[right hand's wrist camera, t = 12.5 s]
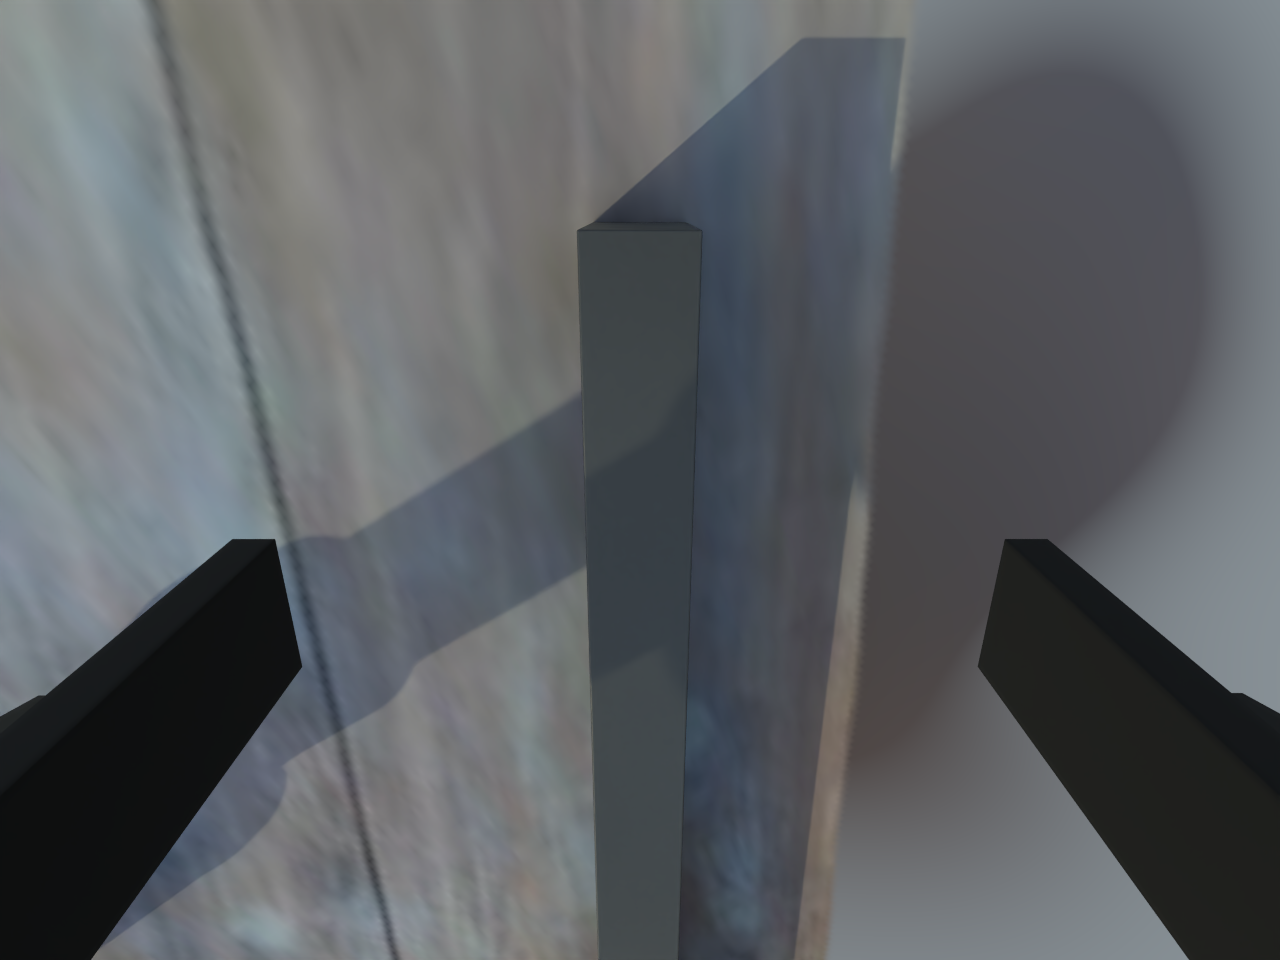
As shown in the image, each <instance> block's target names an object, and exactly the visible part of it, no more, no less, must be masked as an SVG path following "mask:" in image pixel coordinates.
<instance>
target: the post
mask: <svg viewBox="0 0 1280 960" xmlns="http://www.w3.org/2000/svg"><path fill="white" fill-rule="evenodd" d="M577 249H578V283H579V317H580V352H581V386H582V421H583V455H584V490H585V524H586V558H587V593H588V627H589V662H590V696H591V731H592V765H593V800H594V834H595V868H596V903H597V937H598V960H678V957H679V927H680V896H681V866H682V835H683V805H684V775H685V744H686V714H687V683H688V653H689V623H690V592H691V562H692V531H693V501H694V471H695V440H696V410H697V379H698V349H699V319H700V288H701V258H702V230H700V229H698V228H696V227H694V226H692V225H690V224H688V223H660V222H593V223H591V224H589V225H587V226H585V227H583V228H581V229H579V230H578V231H577Z"/></svg>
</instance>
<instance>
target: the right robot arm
mask: <svg viewBox="0 0 1280 960" xmlns="http://www.w3.org/2000/svg"><path fill="white" fill-rule="evenodd" d="M978 667H979V669H980V670H981V672H982V673H983V675H984V676H985V677H986V679H987V680H988V681H989V683H990V684H991V686H992V687H993V688H994V690H995V691H996V692H997V694H998V695H999V697H1000V698H1001V699H1002V701H1003V702H1004V704H1005V705H1006V706H1007V708H1008V709H1009V711H1010V712H1011V713H1012V715H1013V716H1014V718H1015V719H1016V720H1017V722H1018V723H1019V724H1020V726H1021V727H1022V729H1023V730H1024V731H1025V733H1026V734H1027V736H1028V737H1029V738H1030V740H1031V741H1032V742H1033V744H1034V745H1035V747H1036V748H1037V749H1038V751H1039V752H1040V754H1041V755H1042V756H1043V758H1044V759H1045V760H1046V762H1047V763H1048V765H1049V766H1050V767H1051V769H1052V770H1053V772H1054V773H1055V774H1056V776H1057V777H1058V779H1059V780H1060V781H1061V783H1062V784H1063V785H1064V787H1065V788H1066V790H1067V791H1068V792H1069V794H1070V795H1071V797H1072V798H1073V799H1074V801H1075V802H1076V804H1077V805H1078V806H1079V808H1080V809H1081V810H1082V812H1083V813H1084V815H1085V816H1086V817H1087V819H1088V820H1089V822H1090V823H1091V824H1092V826H1093V827H1094V828H1095V830H1096V831H1097V833H1098V834H1099V835H1100V837H1101V838H1102V840H1103V841H1104V842H1105V844H1106V845H1107V847H1108V848H1109V849H1110V851H1111V852H1112V853H1113V855H1114V856H1115V858H1116V859H1117V860H1118V862H1119V863H1120V865H1121V866H1122V867H1123V869H1124V870H1125V871H1126V873H1127V874H1128V876H1129V877H1130V878H1131V880H1132V881H1133V883H1134V884H1135V885H1136V887H1137V888H1138V890H1139V891H1140V892H1141V894H1142V895H1143V896H1144V898H1145V899H1146V901H1147V902H1148V903H1149V905H1150V906H1151V907H1152V909H1153V910H1154V912H1155V913H1156V914H1157V916H1158V917H1159V919H1160V920H1161V921H1162V923H1163V924H1164V926H1165V927H1166V928H1167V930H1168V931H1169V933H1170V934H1171V935H1172V937H1173V938H1174V939H1175V941H1176V942H1177V944H1178V945H1179V946H1180V948H1181V949H1182V951H1183V952H1184V953H1185V955H1186V956H1187V958H1188V959H1189V960H1280V714H1279V713H1278V712H1276V711H1274V710H1272V709H1270V708H1269V707H1267V706H1265V705H1263V704H1261V703H1259V702H1258V701H1256V700H1254V699H1252V698H1250V697H1248V696H1247V695H1245V694H1243V693H1231V692H1229V691H1228V690H1227V689H1226V688H1225V687H1224V686H1222V685H1221V684H1220V683H1219V682H1218V681H1216V680H1215V679H1214V678H1213V677H1212V676H1210V675H1209V674H1208V673H1207V672H1206V671H1204V670H1203V669H1202V668H1201V667H1200V666H1198V665H1197V664H1196V663H1195V662H1194V661H1192V660H1191V659H1190V658H1189V657H1188V656H1186V655H1185V654H1184V653H1183V652H1182V651H1181V650H1179V649H1178V648H1177V647H1176V646H1175V645H1173V644H1172V643H1171V642H1170V641H1169V640H1167V639H1166V638H1165V637H1164V636H1163V635H1161V634H1160V633H1159V632H1158V631H1157V630H1155V629H1154V628H1153V627H1152V626H1151V625H1149V624H1148V623H1147V622H1146V621H1145V620H1143V619H1142V618H1141V617H1140V616H1139V615H1138V614H1136V613H1135V612H1134V611H1133V610H1132V609H1130V608H1129V607H1128V606H1127V605H1125V604H1124V603H1123V602H1122V601H1121V600H1119V599H1118V598H1117V597H1116V596H1115V595H1114V594H1112V593H1111V592H1110V591H1109V590H1108V589H1106V588H1105V587H1104V586H1103V585H1102V584H1100V583H1099V582H1098V581H1097V580H1096V579H1095V578H1093V577H1092V576H1091V575H1090V574H1088V573H1087V572H1086V571H1085V570H1084V569H1083V568H1081V567H1080V566H1079V565H1078V564H1077V563H1075V562H1074V561H1073V560H1072V559H1071V558H1069V557H1068V556H1067V555H1066V554H1065V553H1063V552H1062V551H1061V550H1060V549H1059V548H1057V547H1056V546H1055V545H1054V544H1053V543H1051V542H1050V541H1049V540H1048V539H1005V541H1004V546H1003V551H1002V556H1001V561H1000V565H999V570H998V574H997V579H996V584H995V589H994V593H993V598H992V602H991V607H990V612H989V617H988V621H987V626H986V630H985V635H984V640H983V645H982V649H981V654H980V659H979V663H978ZM301 668H302V663H301V659H300V654H299V649H298V645H297V640H296V635H295V631H294V626H293V621H292V616H291V612H290V607H289V602H288V598H287V593H286V588H285V584H284V579H283V574H282V570H281V565H280V560H279V556H278V551H277V546H276V541H275V539H232V540H231V541H230V542H228V543H227V544H226V545H225V546H224V547H223V548H221V549H220V550H219V551H218V552H217V553H215V554H214V555H213V556H212V557H211V558H209V559H208V560H207V561H206V562H205V563H203V564H202V565H201V566H200V567H199V568H197V569H196V570H195V571H194V572H193V573H191V574H190V575H189V576H188V577H187V578H185V579H184V580H183V581H182V582H181V583H180V584H178V585H177V586H176V587H175V588H174V589H172V590H171V591H170V592H169V593H168V594H166V595H165V596H164V597H163V598H162V599H160V600H159V601H158V602H157V603H156V604H154V605H153V606H152V607H151V608H150V609H148V610H147V611H146V612H145V613H144V614H142V615H141V616H140V617H139V618H138V619H137V620H135V621H134V622H133V623H132V624H131V625H129V626H128V627H127V628H126V629H125V630H123V631H122V632H121V633H120V634H119V635H117V636H116V637H115V638H114V639H113V640H111V641H110V642H109V643H108V644H107V645H105V646H104V647H103V648H102V649H101V650H99V651H98V652H97V653H96V654H95V655H94V656H92V657H91V658H90V659H89V660H88V661H86V662H85V663H84V664H83V665H82V666H80V667H79V668H78V669H77V670H76V671H74V672H73V673H72V674H71V675H70V676H68V677H67V678H66V679H65V680H64V681H62V682H61V683H60V684H59V685H58V686H56V687H55V688H54V689H53V690H52V691H51V692H49V693H48V694H47V695H46V696H37V697H35V698H33V699H31V700H30V701H28V702H26V703H24V704H22V705H21V706H19V707H17V708H15V709H13V710H11V711H10V712H8V713H6V714H4V715H2V716H1V717H0V960H91V959H92V958H93V956H94V955H95V953H96V952H97V951H98V949H99V948H100V946H101V945H102V944H103V942H104V941H105V939H106V938H107V937H108V935H109V934H110V933H111V931H112V930H113V928H114V927H115V926H116V924H117V923H118V921H119V920H120V919H121V917H122V916H123V914H124V913H125V912H126V910H127V909H128V908H129V906H130V905H131V903H132V902H133V901H134V899H135V898H136V896H137V895H138V894H139V892H140V891H141V890H142V888H143V887H144V885H145V884H146V883H147V881H148V880H149V878H150V877H151V876H152V874H153V873H154V871H155V870H156V869H157V867H158V866H159V865H160V863H161V862H162V860H163V859H164V858H165V856H166V855H167V853H168V852H169V851H170V849H171V848H172V847H173V845H174V844H175V842H176V841H177V840H178V838H179V837H180V835H181V834H182V833H183V831H184V830H185V828H186V827H187V826H188V824H189V823H190V822H191V820H192V819H193V817H194V816H195V815H196V813H197V812H198V810H199V809H200V808H201V806H202V805H203V804H204V802H205V801H206V799H207V798H208V797H209V795H210V794H211V792H212V791H213V790H214V788H215V787H216V785H217V784H218V783H219V781H220V780H221V779H222V777H223V776H224V774H225V773H226V772H227V770H228V769H229V767H230V766H231V765H232V763H233V762H234V761H235V759H236V758H237V756H238V755H239V754H240V752H241V751H242V749H243V748H244V747H245V745H246V744H247V742H248V741H249V740H250V738H251V737H252V736H253V734H254V733H255V731H256V730H257V729H258V727H259V726H260V724H261V723H262V722H263V720H264V719H265V718H266V716H267V715H268V713H269V712H270V711H271V709H272V708H273V706H274V705H275V704H276V702H277V701H278V699H279V698H280V697H281V695H282V694H283V693H284V691H285V690H286V688H287V687H288V686H289V684H290V683H291V681H292V680H293V679H294V677H295V676H296V675H297V673H298V672H299V670H300V669H301Z"/></svg>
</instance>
